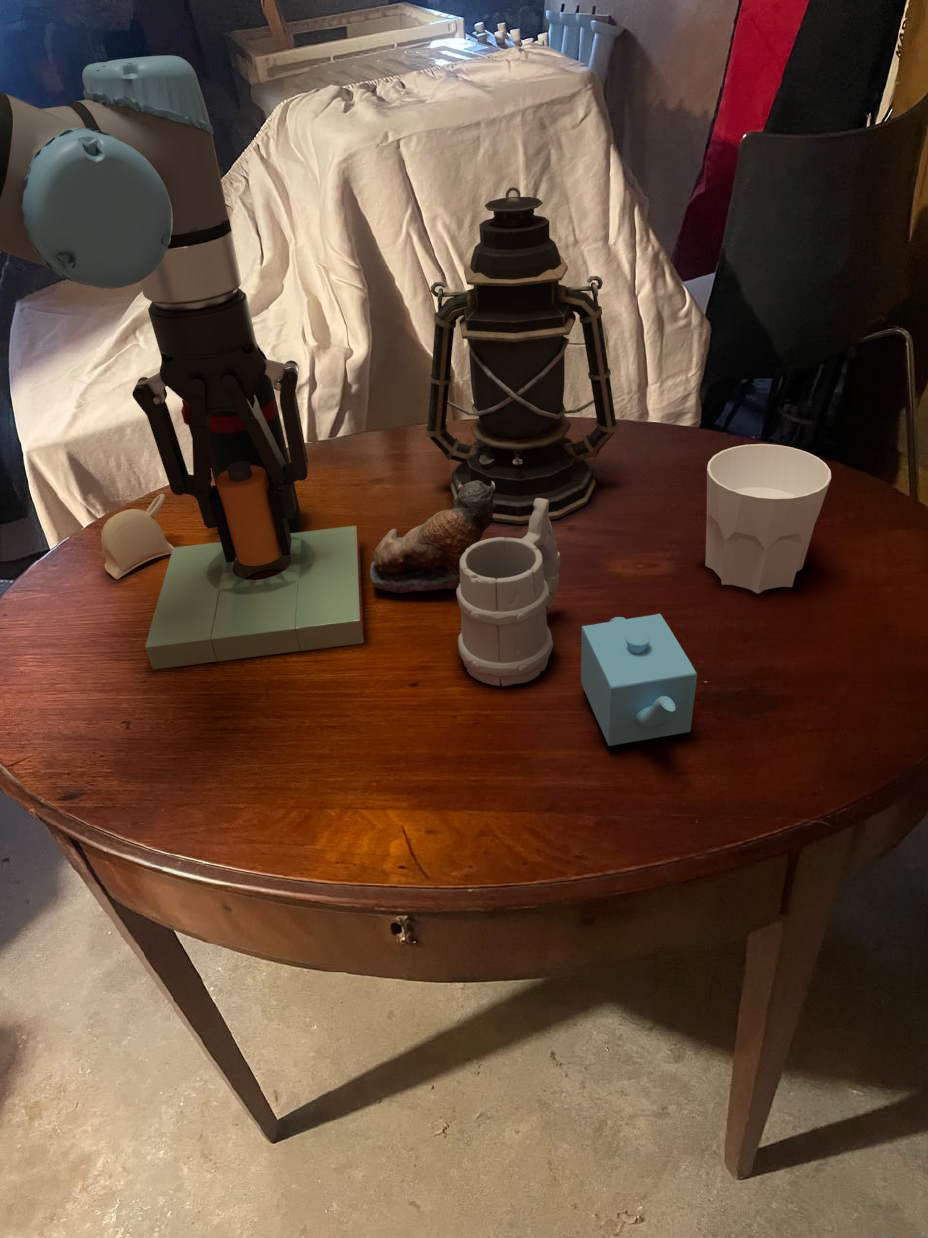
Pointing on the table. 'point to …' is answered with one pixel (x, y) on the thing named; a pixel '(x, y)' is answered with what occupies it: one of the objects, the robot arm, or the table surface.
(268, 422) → the wine bottle
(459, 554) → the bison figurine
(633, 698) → the teapot
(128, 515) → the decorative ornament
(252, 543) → the orange cylinder
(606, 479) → the table surface
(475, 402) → the lantern
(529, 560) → the mug
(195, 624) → the green peg socket base
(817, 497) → the cup
